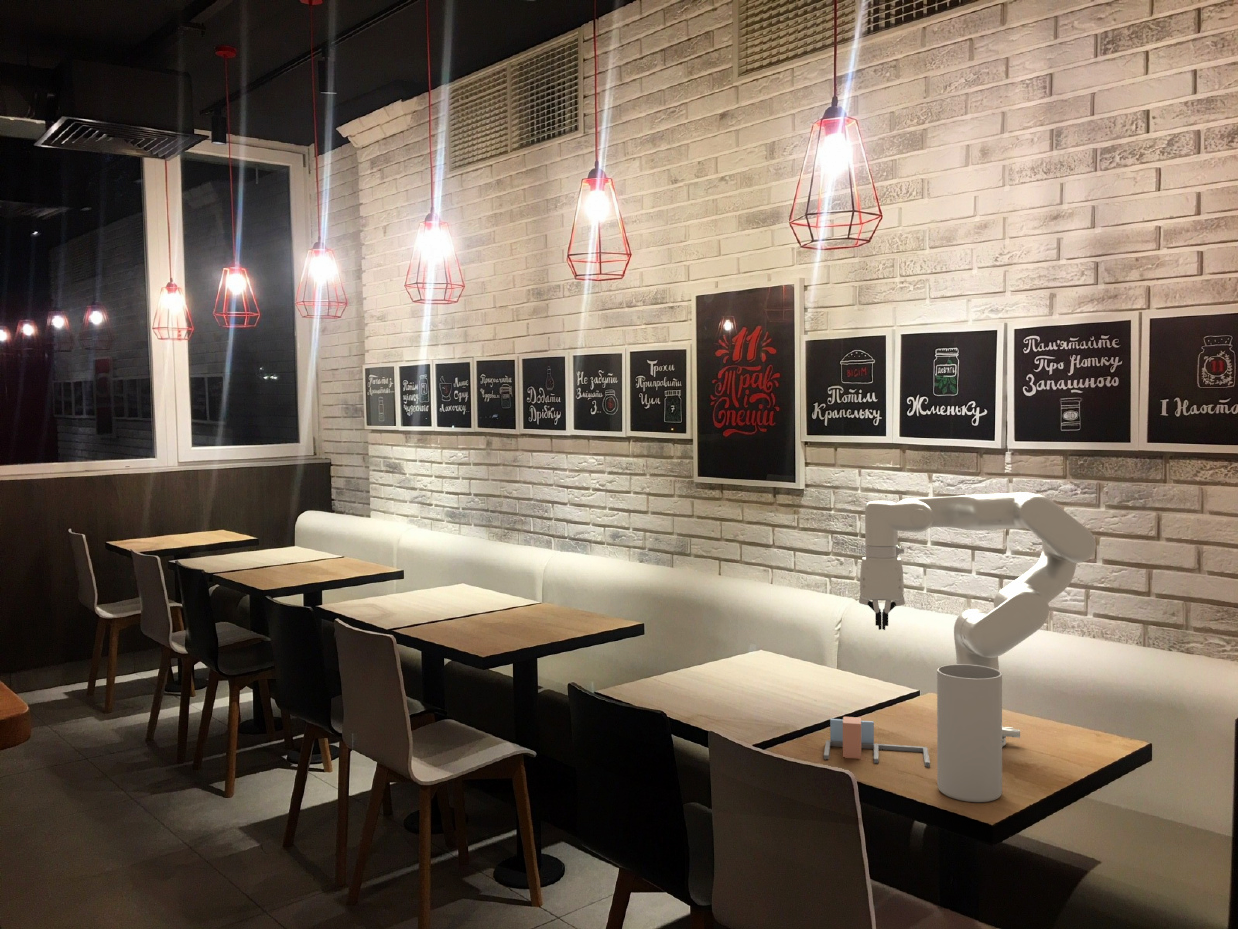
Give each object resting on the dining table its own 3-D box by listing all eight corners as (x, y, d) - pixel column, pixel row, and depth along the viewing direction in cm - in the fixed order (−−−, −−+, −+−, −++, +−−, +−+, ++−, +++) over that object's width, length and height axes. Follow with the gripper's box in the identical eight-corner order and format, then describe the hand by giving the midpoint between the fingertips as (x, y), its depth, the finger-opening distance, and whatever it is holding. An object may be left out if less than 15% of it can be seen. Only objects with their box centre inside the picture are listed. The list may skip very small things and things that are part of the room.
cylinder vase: (1012, 791, 199) (1012, 670, 198) (986, 808, 190) (985, 682, 190) (954, 777, 208) (953, 661, 207) (926, 793, 199) (926, 672, 198)
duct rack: (927, 750, 226) (926, 724, 226) (929, 767, 214) (929, 740, 214) (826, 743, 232) (826, 718, 231) (823, 759, 220) (823, 733, 220)
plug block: (861, 751, 225) (861, 717, 225) (860, 758, 221) (860, 724, 220) (843, 750, 226) (843, 716, 226) (842, 757, 222) (842, 722, 221)
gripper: (913, 551, 234) (913, 627, 234) (849, 550, 238) (850, 624, 238) (914, 555, 227) (915, 633, 227) (849, 554, 230) (849, 630, 231)
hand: (881, 628), depth 233 cm, fingers closed
